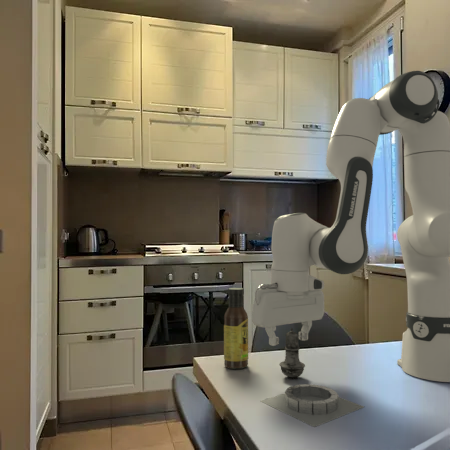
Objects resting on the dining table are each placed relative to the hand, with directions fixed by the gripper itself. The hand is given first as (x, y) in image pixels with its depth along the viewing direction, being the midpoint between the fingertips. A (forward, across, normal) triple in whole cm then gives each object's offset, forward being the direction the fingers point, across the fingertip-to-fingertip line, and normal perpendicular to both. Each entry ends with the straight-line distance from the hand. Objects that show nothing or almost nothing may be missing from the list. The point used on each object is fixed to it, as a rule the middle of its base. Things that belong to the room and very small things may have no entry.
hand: (289, 342), depth 94 cm
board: (+8, -7, -14) cm, 18 cm away
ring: (+8, -7, -14) cm, 17 cm away
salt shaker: (+9, +1, 0) cm, 9 cm away
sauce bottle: (+9, -3, +16) cm, 18 cm away
